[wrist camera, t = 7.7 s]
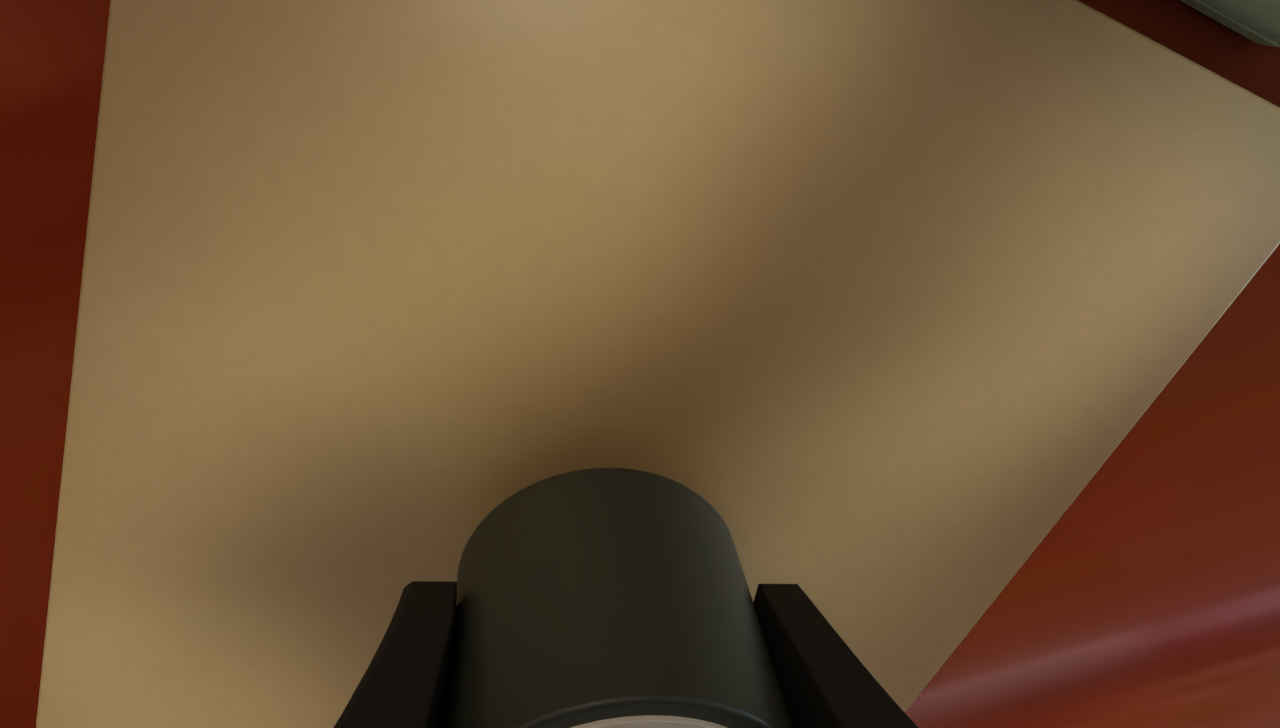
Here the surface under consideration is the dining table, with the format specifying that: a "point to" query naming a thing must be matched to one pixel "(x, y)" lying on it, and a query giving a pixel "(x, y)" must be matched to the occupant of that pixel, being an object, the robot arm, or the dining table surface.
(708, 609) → the sushi roll
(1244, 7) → the tray
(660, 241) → the board
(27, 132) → the dining table surface
